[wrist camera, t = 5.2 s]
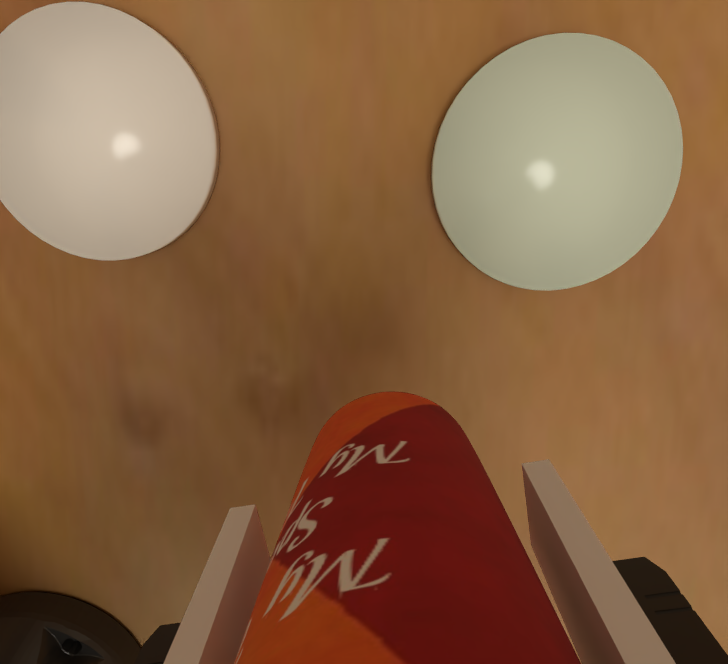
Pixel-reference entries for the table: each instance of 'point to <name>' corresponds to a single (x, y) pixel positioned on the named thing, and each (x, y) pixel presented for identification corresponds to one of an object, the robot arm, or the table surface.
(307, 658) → the paper cup
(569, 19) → the table surface
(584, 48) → the sage dish
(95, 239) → the white dish
